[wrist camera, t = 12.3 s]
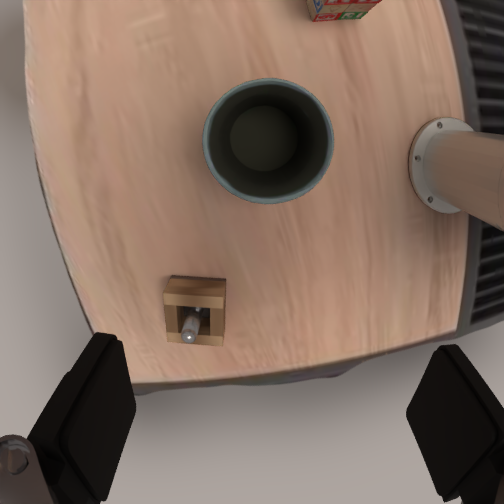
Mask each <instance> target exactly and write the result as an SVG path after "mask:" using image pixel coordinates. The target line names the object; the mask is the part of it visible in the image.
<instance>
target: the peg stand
mask: <svg viewBox="0 0 504 504" xmlns="http://www.w3.org/2000/svg"><path fill="white" fill-rule="evenodd" d="M171 278H174V279H190V280H206V281H223V282H226V279H220V278H204V277H190V276H176V275H172V276H171ZM171 278H170V279H171ZM183 307H184V316H187V317H186V320H185V323H184V326H183V329H182V332H181V338H182V340H183V341H184V342H185V343H193V342H194V341H195V340H196V338H197V334H198V330H199V326H200V322H201V318H202V317H203V318H210V308H204V307H190V306H183Z"/></svg>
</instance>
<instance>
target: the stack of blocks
mask: <svg viewBox="0 0 504 504" xmlns="http://www.w3.org/2000/svg"><path fill="white" fill-rule="evenodd" d="M381 1H382V0H306V2H307V6H308V9H309V13H310V16H311V20H312V22H317V21H329V20H339V19H361V18H362V17H363V16H364V15H365V14H366V13H368V11H369V10H370V9H372V8H373V7H374V6H375V5H376V4H377V3H379V2H381Z"/></svg>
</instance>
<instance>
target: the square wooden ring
mask: <svg viewBox="0 0 504 504" xmlns="http://www.w3.org/2000/svg"><path fill="white" fill-rule="evenodd" d="M225 299H226V282H223V281H206V280H190V279H174V278H171V279H170V281H169V283H168V284H167V286H166V288H165V290H164V292H163V300H164V311H165V322H166V333H167V342H175V343H185V342H184V341H183V340H182V338H181V332H182V329H183V326H184V323H185V320H186V317H187V316H184V307H183V306H190V307H204V308H210V318H203V317H202V318H201V322H200V326H199V330H198V334H197V338H196V340H195V341H194V342H193V343H186V344H198V345H211V346H223V340H224V332H225Z"/></svg>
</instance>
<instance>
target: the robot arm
mask: <svg viewBox="0 0 504 504" xmlns="http://www.w3.org/2000/svg"><path fill="white" fill-rule="evenodd" d="M437 125H438V126H437ZM415 156H416V159H415ZM409 173H410V179H411V182H412V185H413V188H414V190H415V192H416V193H417V195H418V197H419V198H420V199H421V200H422V202H424V203H425V204H426V205H427V206H428V207H430V208H432V209H433V210H435V211H438V212H440V213H446V214H451V213H457V212H460V211H462V210H463V211H465V212H467V213H469V214H471V215H473V216H475V217H477V218H479V219H480V220H482V221H484V222H486V223H488V224H490V225H492V226H494V227H496V228H498V229H499V230H501V231H503V232H504V135H500V134H492V133H483V132H475V131H474V130H473V129H472V128H471V127H470V126H469V125H468V124H466V123H465V122H463V121H461V120H459V119H456V118H451V117H442V118H436V119H434V120H432V121H430V122H428V123H427V124H426V125H424V126H423V127H422V128H421V130H420V131H419V132H418V133H417V135H416V137H415V139H414V141H413V143H412V146H411V149H410V156H409ZM135 413H136V401H135V398H134V393H133V389H132V385H131V381H130V376H129V372H128V367H127V362H126V358H125V353H124V348H123V343H122V341H120V340H117V337H116V335H113V334H107V333H100V332H96V333H95V334H94V335H93V337H92V338H91V340H90V341H89V343H88V344H87V346H86V347H85V349H84V350H83V352H82V353H81V355H80V357H79V358H78V360H77V361H76V363H75V364H74V366H73V367H72V369H71V370H70V371H69V372H67V373H66V374H65V375H64V377H63V379H62V380H61V382H60V383H59V385H58V386H57V388H56V390H55V391H54V393H53V395H52V396H51V398H50V400H49V401H48V403H47V404H46V406H45V408H44V409H43V411H42V413H41V414H40V416H39V418H38V420H37V422H36V423H35V425H34V427H33V428H32V430H31V432H30V434H29V435H28V437H27V439H26V438H24V437H22V436H19V435H5V436H3V437H1V438H0V504H100V502H101V501H106V499H107V497H108V495H109V491H110V488H111V485H112V482H113V479H114V475H115V472H116V469H117V466H118V463H119V460H120V457H121V453H122V451H123V448H124V445H125V442H126V439H127V436H128V433H129V430H130V428H131V425H132V422H133V419H134V416H135ZM406 417H407V420H408V422H409V425H410V427H411V429H412V432H413V434H414V436H415V439H416V441H417V443H418V446H419V448H420V450H421V453H422V455H423V458H424V461H425V463H426V466H427V468H428V471H429V473H430V475H431V478H432V481H433V483H434V486H435V489H436V491H437V493H438V494H439V496H442V498H443V501H444V502H448V501H451V500H453V499H456V498H458V497H459V496H460V497H461V499H462V502H461V504H504V408H503V407H502V405H501V404H500V402H499V401H498V399H497V398H496V397H495V395H494V394H493V392H492V391H491V389H490V388H489V386H488V385H487V384H486V382H485V381H484V380H483V378H482V377H481V375H480V374H479V373H478V371H477V370H476V369H475V367H474V366H473V365H472V363H471V362H470V361H469V359H468V358H467V357H466V355H465V354H464V353H463V351H462V350H461V349H460V348H459V346H458V345H456V344H452V345H441V346H439V348H438V349H437V350H436V351H434V353H433V355H432V357H431V359H430V362H429V364H428V366H427V368H426V370H425V373H424V375H423V377H422V379H421V382H420V384H419V385H418V388H417V390H416V392H415V394H414V396H413V398H412V400H411V402H410V404H409V406H408V407H407V411H406Z"/></svg>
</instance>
